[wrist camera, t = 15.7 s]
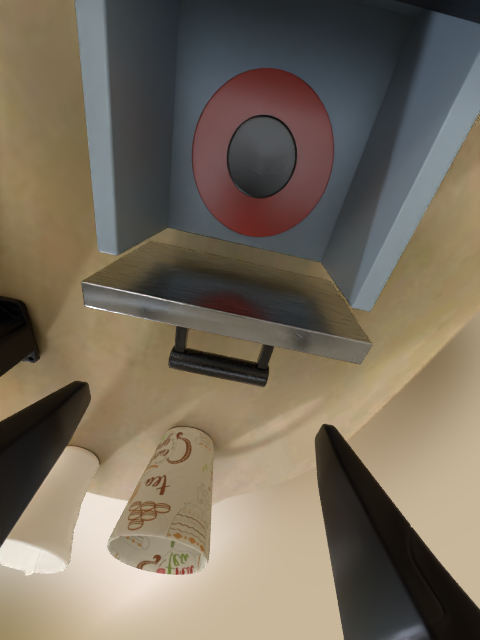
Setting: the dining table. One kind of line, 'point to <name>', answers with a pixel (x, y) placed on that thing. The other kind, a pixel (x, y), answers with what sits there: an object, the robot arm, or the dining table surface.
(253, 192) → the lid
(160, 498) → the mug
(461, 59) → the drawer
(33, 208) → the dining table surface
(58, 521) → the cup
